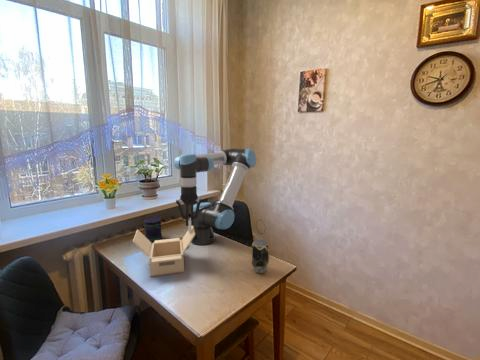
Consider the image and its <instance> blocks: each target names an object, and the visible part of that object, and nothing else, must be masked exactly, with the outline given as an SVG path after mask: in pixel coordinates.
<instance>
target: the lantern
mask: <svg viewBox="0 0 480 360" xmlns="http://www.w3.org/2000/svg"><path fill="white" fill-rule="evenodd" d="M258 221H259V219H257V220H256V222H255V224H257V223H258ZM260 221H261V222H262V223H263V225H264V232H260V231H259V230H258V227H257V226H255V228H256V231H257V233H258V234H257V235H256V236H254V240H253V242H252V244H251V247H252V253H251V254H252V256H251V257H252V258H251V266H252V267H253V271H255V272H256V273H260V274H261V273H265V272H267V270H268V266H269V265H268V264H269V261H270V255H269V254H270V252H269V246H268V242H267V237H266V236H264V233H265V232H266V224H265V221H264V220H262V219H260Z"/></svg>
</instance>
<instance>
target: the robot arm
mask: <svg viewBox="0 0 480 360" xmlns="http://www.w3.org/2000/svg"><path fill="white" fill-rule="evenodd" d="M256 164H257V155H256V152H255V151H254V150H253V149H252V148H228V149H223V150H218V151H217V152H210V153H203V154H195V153H194V154H193V153H183V154H180V155H179V156H177V157H175V158H174V160H173V165H174V167H175V169H176V170H180V196H179V198H177V199H176V200H175V204H176V205H178V209H179V212H180V216H181V219H182V220H184V221H185V226H186V227H188V228H187V231H188V232H189V233H191V226H193V227H194V231H195V236H194V238H193V239H192V241H191V243H190V244H193V245H201V246H202V245H207V244H211V243H213V242H214V241H216V240H215V239H216V237H215V232H214V230H213V228H216V229H217V230H227V229H229V228H231V226H232V224H233V223H234V222H235V217H236V216H235V212H234V207H233V205H234V202H235V201H236V198H237V195H238V193H239V190H240V189H241V185H242V183H243V180H244V178H245V176H246V173H248V172H249V171H250V169H251V168H254V167H255V166H256ZM215 165H216V166H217V165H218V166H230V167H232V168H231V170H230V174H229V176H228V178H227V181H226V183H225V186H224V188H223V189H222V190H223V191H222V192H221V195H220V197H219V200H217V201H215V202H214V205H213V206H212V203H211V202H207V201H206V202H203V199H202V198H201V197H198V194H197V192H198V191H197V190H198V189H197V173H202V172H203V173H205V172H206V173H207V172H209V171H212V170H213V168H214V166H215ZM196 201H197V202H196ZM195 202H196V203H195ZM181 203H183V204H184V206H185V207H184V208H185V212H184V211H183V207H182V204H181ZM189 205H190V218H189ZM184 214H185V215H184Z"/></svg>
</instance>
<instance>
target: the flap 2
mask: <svg viewBox="0 0 480 360" xmlns="http://www.w3.org/2000/svg"><path fill="white" fill-rule="evenodd" d="M194 236H195V231H194V227H193V226H191V233H189V232H188V230H187V231H186V233H185V234H184V236H183V239H182V243H183V253H185V252H186V250H187V249H188V248H189V246H190V244H192V243H191V241H192V239H193V238H194Z"/></svg>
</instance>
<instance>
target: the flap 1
mask: <svg viewBox="0 0 480 360" xmlns="http://www.w3.org/2000/svg"><path fill="white" fill-rule="evenodd" d="M132 243H133V244H134V245H135V246H137V248H138V249H140V251H142V252H143V254H145V255H146V256H147V257H150V253H151V247H152V244H151V242H150V241H149V240H148V239H147V238H146V237H145V234H143V233H142V232H141V231H140V230H139V229H136V232H135V234H134V236H133V239H132Z"/></svg>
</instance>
